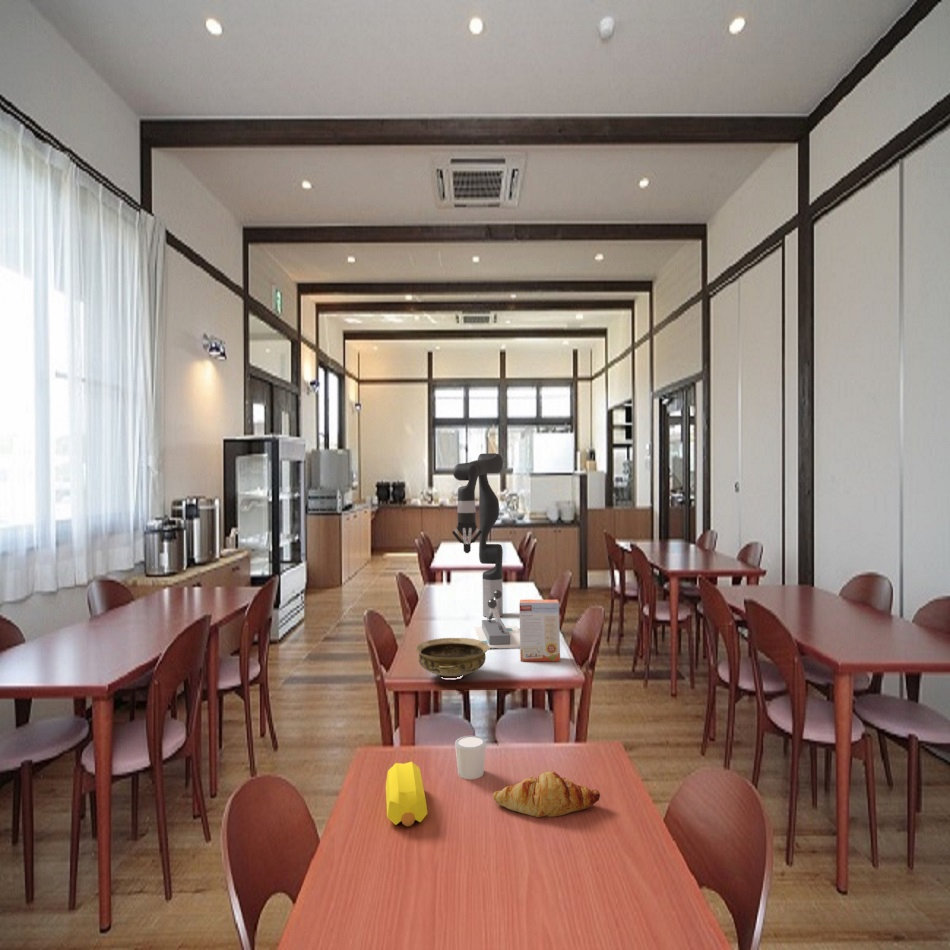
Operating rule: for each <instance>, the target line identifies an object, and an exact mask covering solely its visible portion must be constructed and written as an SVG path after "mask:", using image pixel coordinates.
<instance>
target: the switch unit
mask: <svg viewBox="0 0 950 950" xmlns="http://www.w3.org/2000/svg"><path fill="white" fill-rule="evenodd" d="M502 624H503V626H504V633H502V632H501V630H499V628H498V625H497V622H496V620H495V619H491V621H490V622H488V620H487V619H481V626H480V627H474V632H475V631H476V632H475V634H477V635H476V637H477V636H478V637H477V640H478V639H479V640H480V641H482V642H484V643H486V644H488V646H489V649H488V650H491V649H490V648H510V649H520V628H518V626H517V625H505V624H504V622H503V621H502Z"/></svg>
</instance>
